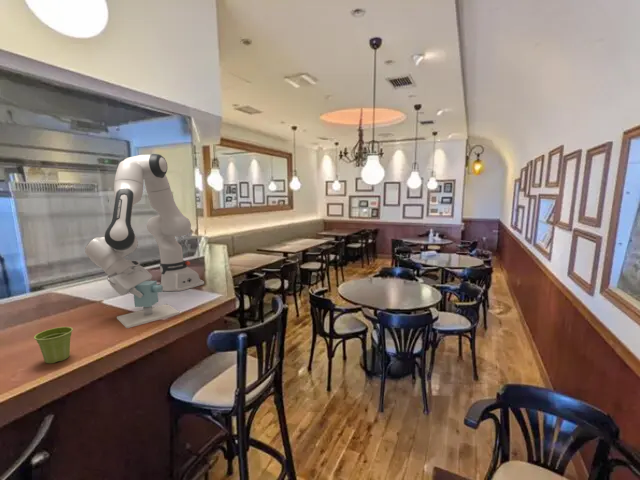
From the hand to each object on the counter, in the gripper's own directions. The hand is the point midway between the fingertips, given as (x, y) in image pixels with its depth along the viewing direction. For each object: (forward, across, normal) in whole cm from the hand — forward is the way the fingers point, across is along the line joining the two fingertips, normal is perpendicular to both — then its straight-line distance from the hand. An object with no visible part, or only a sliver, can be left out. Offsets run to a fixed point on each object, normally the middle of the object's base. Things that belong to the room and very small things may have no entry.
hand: (147, 293), depth 137 cm
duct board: (+7, 0, +7) cm, 10 cm away
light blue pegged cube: (+4, 0, +2) cm, 5 cm away
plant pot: (0, -34, +15) cm, 38 cm away
